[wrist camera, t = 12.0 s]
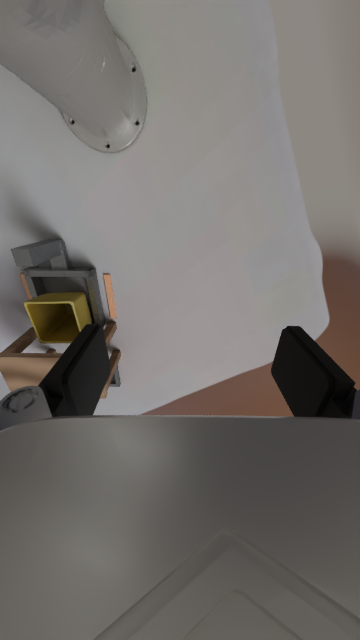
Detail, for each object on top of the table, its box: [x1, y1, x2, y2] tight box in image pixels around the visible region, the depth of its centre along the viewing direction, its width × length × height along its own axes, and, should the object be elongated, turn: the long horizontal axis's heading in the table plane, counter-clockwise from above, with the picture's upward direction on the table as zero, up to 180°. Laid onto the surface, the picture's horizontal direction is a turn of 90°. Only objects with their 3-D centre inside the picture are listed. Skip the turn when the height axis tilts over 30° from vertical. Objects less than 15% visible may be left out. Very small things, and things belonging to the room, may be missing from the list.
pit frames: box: [109, 366, 120, 387], centre depth 56 cm, size 7×15×1 cm, turn 89°
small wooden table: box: [0, 322, 121, 398], centre depth 45 cm, size 10×18×13 cm, turn 89°
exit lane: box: [20, 273, 116, 318], centre depth 45 cm, size 10×18×1 cm, turn 89°
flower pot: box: [24, 292, 92, 343], centre depth 42 cm, size 9×9×9 cm
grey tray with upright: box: [11, 239, 105, 327], centre depth 40 cm, size 18×13×10 cm
